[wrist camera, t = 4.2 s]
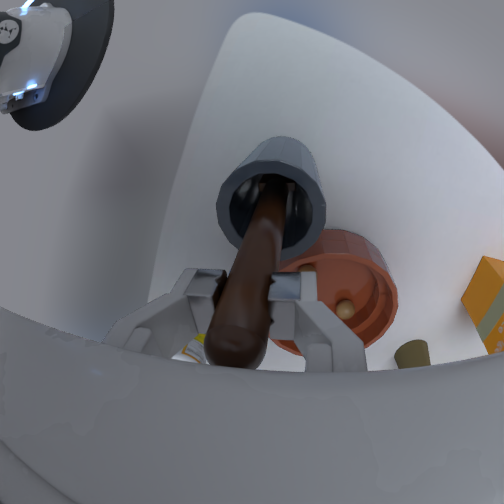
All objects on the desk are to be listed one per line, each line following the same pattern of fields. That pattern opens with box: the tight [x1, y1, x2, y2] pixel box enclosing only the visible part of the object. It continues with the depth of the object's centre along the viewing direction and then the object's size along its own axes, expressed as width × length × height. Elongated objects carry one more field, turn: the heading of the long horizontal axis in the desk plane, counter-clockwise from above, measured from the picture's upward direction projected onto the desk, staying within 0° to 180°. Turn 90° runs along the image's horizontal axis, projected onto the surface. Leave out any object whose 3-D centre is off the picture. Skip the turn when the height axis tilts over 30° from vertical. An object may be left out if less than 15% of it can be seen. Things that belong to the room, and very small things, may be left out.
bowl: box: [268, 230, 398, 356], centre depth 30 cm, size 15×15×6 cm
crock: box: [216, 136, 326, 261], centre depth 21 cm, size 6×6×12 cm
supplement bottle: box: [171, 334, 207, 364], centre depth 35 cm, size 6×6×10 cm
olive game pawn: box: [395, 340, 431, 369], centre depth 31 cm, size 6×6×11 cm
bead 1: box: [297, 265, 318, 281], centre depth 30 cm, size 2×2×2 cm
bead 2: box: [336, 300, 355, 319], centre depth 31 cm, size 2×2×2 cm
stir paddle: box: [203, 174, 296, 369], centre depth 16 cm, size 3×2×22 cm, turn 95°
